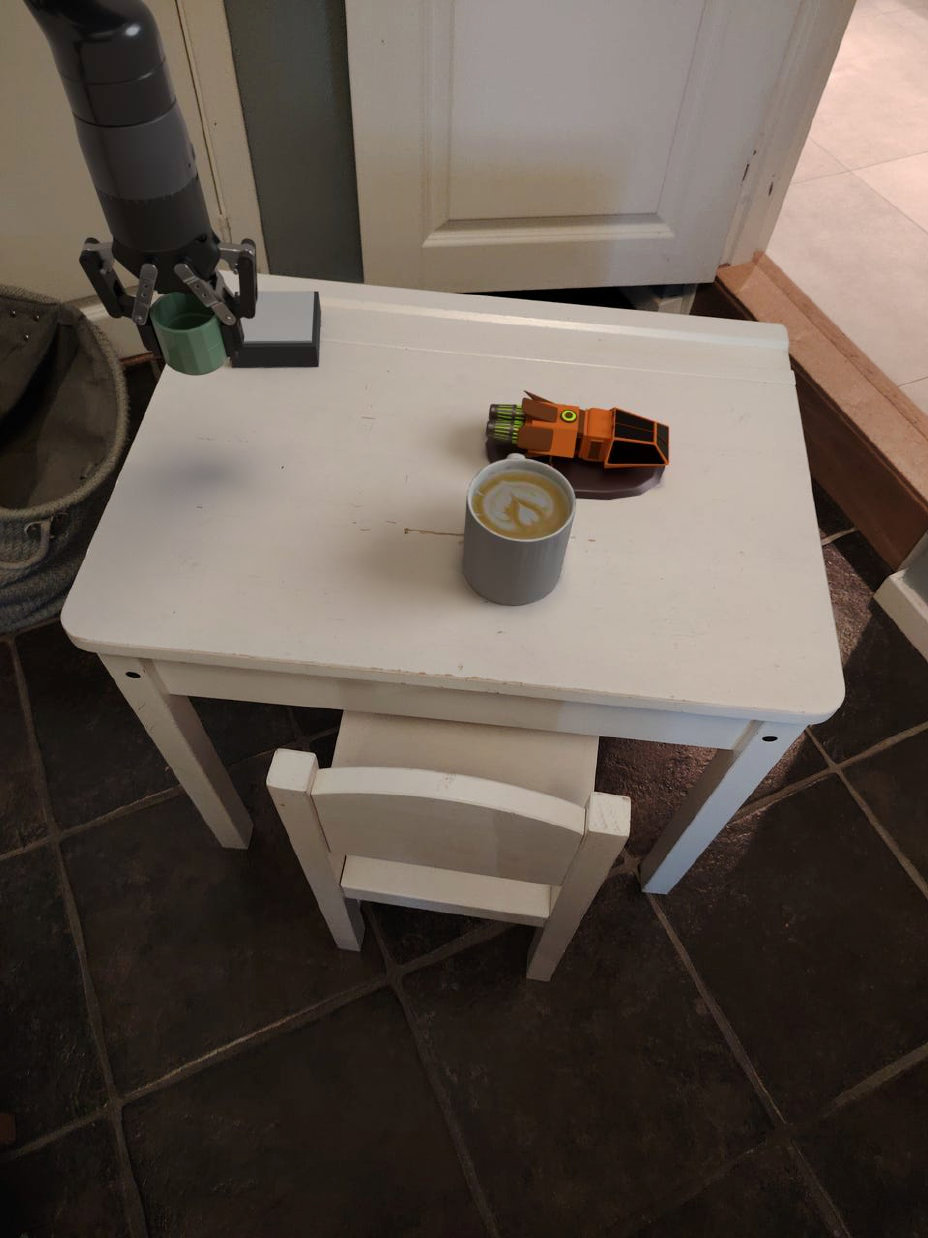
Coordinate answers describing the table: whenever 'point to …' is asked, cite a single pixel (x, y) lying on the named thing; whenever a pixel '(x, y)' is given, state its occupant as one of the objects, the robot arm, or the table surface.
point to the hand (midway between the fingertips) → (197, 350)
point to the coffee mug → (516, 530)
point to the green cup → (188, 334)
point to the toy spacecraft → (582, 445)
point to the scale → (282, 331)
